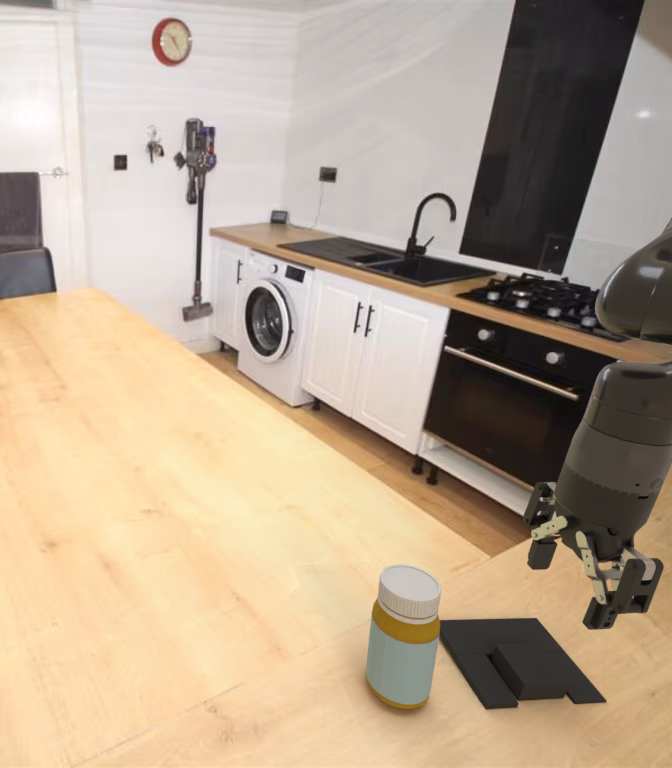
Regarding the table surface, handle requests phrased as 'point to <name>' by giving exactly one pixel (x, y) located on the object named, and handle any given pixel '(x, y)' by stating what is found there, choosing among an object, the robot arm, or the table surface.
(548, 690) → the dark rectangular block
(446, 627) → the u-shaped plate
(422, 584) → the bottle
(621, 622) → the table surface
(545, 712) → the table surface
